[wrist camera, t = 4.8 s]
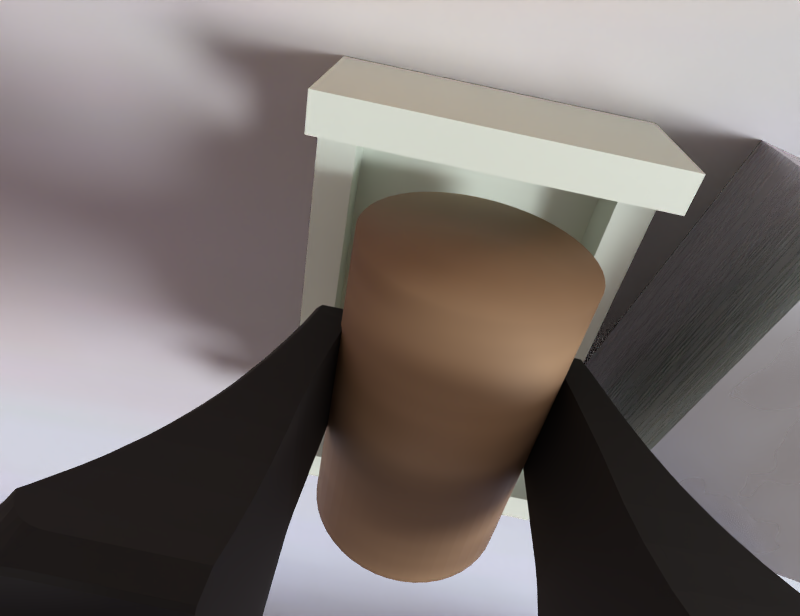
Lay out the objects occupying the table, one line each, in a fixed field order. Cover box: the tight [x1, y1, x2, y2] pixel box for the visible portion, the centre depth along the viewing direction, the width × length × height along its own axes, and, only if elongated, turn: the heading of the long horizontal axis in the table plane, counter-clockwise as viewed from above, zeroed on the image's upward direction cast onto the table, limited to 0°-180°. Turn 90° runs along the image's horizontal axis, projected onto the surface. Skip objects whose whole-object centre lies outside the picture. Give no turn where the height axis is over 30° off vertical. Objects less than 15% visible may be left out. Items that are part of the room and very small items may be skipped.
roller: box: [317, 192, 606, 583], centre depth 12 cm, size 7×4×4 cm, turn 170°
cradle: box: [299, 56, 706, 520], centre depth 14 cm, size 10×7×3 cm
